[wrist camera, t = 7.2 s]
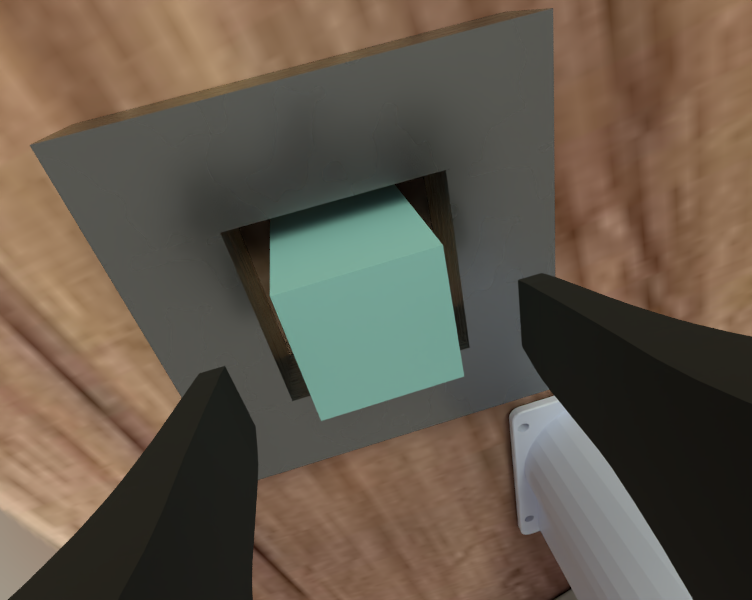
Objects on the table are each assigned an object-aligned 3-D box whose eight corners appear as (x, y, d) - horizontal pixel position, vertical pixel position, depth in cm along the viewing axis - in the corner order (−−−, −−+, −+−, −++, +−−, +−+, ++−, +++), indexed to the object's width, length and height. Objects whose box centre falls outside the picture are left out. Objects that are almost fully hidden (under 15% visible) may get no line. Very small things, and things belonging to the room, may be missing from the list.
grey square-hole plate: (524, 347, 19) (556, 387, 17) (239, 434, 18) (235, 486, 16) (505, 11, 13) (553, 8, 11) (71, 124, 12) (29, 144, 10)
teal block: (415, 288, 17) (464, 376, 13) (308, 320, 17) (321, 421, 12) (392, 182, 15) (443, 245, 10) (270, 217, 14) (269, 296, 10)
